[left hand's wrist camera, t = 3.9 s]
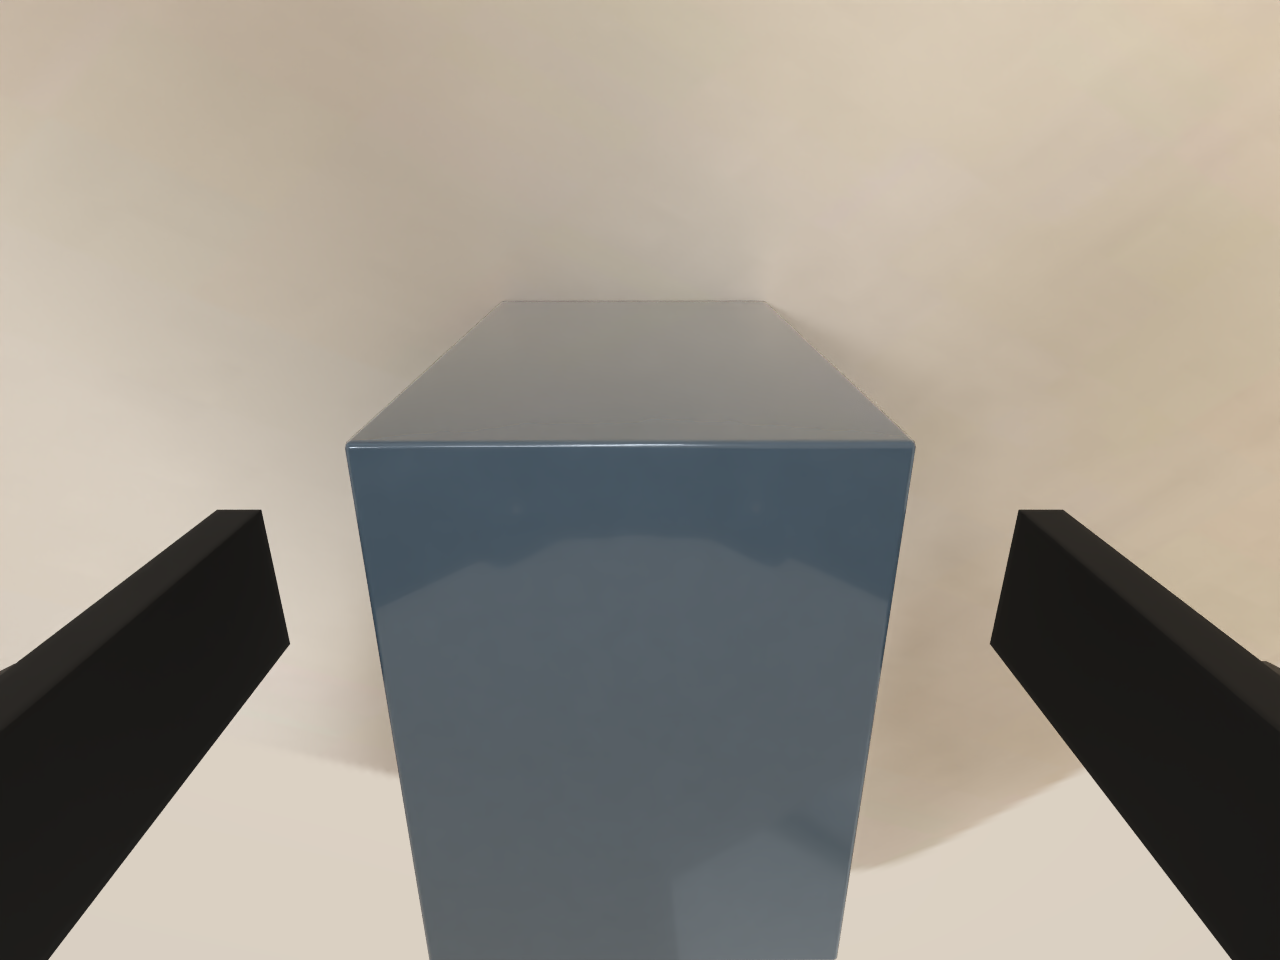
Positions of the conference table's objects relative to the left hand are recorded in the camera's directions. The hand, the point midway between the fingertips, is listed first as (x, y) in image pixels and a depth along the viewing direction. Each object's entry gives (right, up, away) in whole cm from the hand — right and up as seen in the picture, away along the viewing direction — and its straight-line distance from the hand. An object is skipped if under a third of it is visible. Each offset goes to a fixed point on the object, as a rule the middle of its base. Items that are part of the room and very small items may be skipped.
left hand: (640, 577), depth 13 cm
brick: (0, +2, +4) cm, 5 cm away
